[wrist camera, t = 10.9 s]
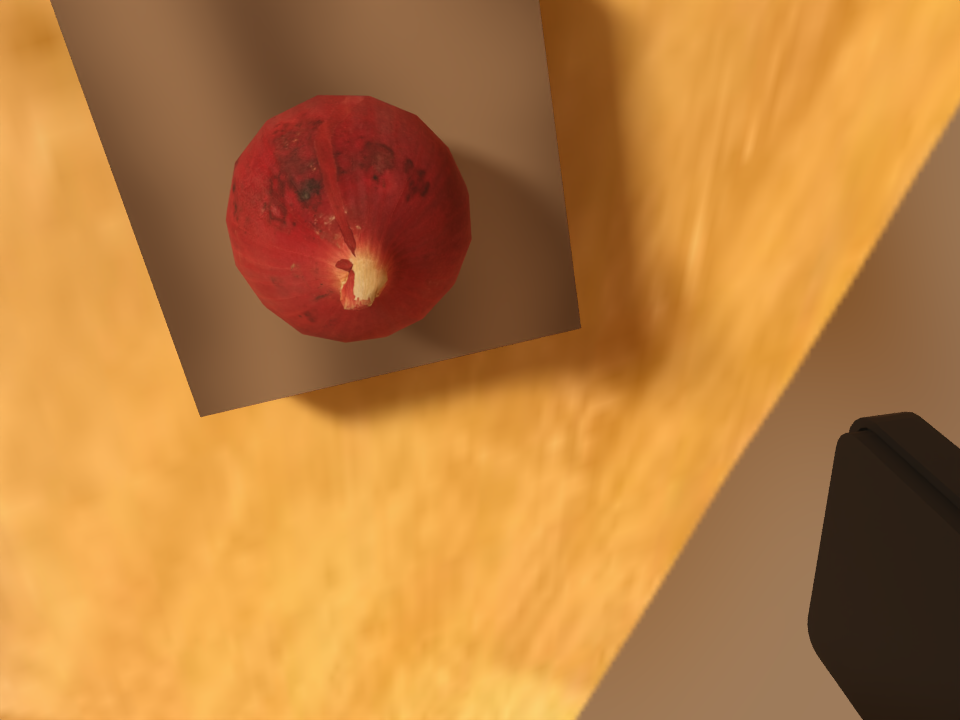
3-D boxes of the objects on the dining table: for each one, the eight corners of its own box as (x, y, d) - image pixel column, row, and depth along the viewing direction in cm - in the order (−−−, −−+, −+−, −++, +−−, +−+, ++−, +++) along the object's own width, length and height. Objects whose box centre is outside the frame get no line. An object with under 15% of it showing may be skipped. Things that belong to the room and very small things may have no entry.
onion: (194, 136, 24) (150, 220, 17) (387, 35, 24) (425, 76, 17) (304, 314, 27) (306, 452, 20) (480, 224, 27) (546, 331, 19)
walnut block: (489, -91, 28) (527, -93, 23) (542, 273, 33) (580, 328, 29) (90, -15, 27) (49, -1, 22) (213, 348, 32) (200, 417, 28)
